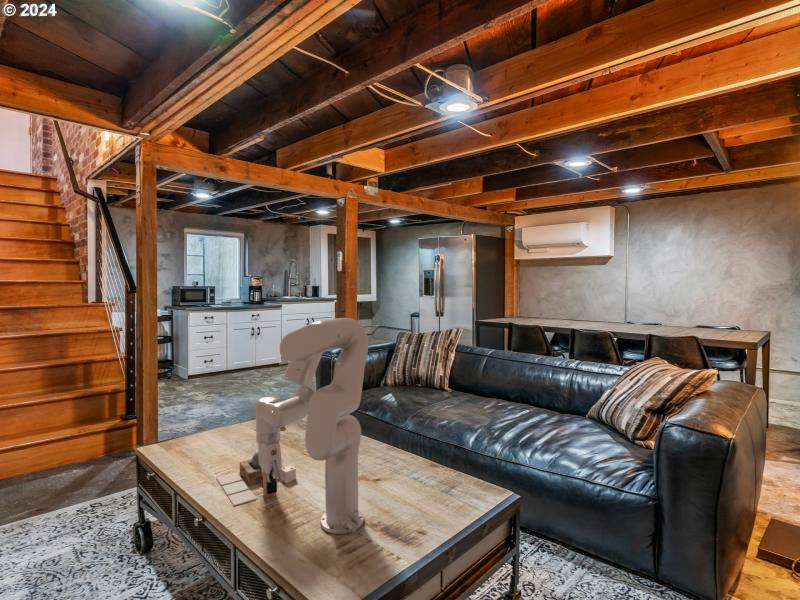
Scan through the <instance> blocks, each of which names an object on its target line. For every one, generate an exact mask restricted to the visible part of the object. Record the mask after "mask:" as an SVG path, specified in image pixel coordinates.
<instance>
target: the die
mask: <svg viewBox="0 0 800 600" xmlns="http://www.w3.org/2000/svg"><path fill="white" fill-rule="evenodd" d="M279 479H280V481H282V482H283V481H284V483H285V484H288V483H291V482H293V481H295V480H297V469H296V467H294V466H292V465H290V464H289V465H286V466H284V467H283V466H282V470H281V471H280V476H279ZM287 482H288V483H287Z"/></svg>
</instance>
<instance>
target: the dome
mask: <svg viewBox="0 0 800 600" xmlns="http://www.w3.org/2000/svg"><path fill="white" fill-rule="evenodd" d="M251 459H252V468H253V469H256V468H260V465H259V461H258V451H257V452H255V453H254V454H253V455H252V458H251Z"/></svg>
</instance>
